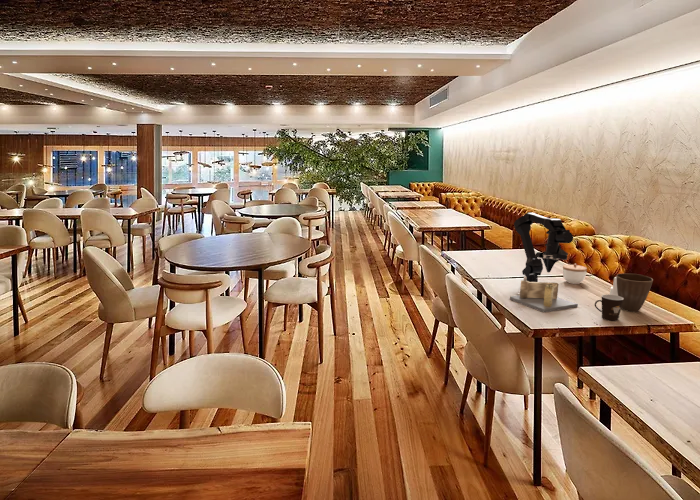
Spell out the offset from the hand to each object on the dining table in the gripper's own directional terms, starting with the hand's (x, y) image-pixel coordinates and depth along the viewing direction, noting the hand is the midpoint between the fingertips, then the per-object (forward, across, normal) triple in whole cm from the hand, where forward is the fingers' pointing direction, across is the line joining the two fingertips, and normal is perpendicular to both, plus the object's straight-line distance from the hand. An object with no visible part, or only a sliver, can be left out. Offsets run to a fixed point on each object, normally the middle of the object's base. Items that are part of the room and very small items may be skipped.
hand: (548, 272), depth 247 cm
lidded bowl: (+2, +21, -32) cm, 39 cm away
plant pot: (+12, -27, -27) cm, 40 cm away
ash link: (+14, -7, +9) cm, 18 cm away
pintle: (+6, -7, +17) cm, 20 cm away
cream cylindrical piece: (+8, -13, -34) cm, 37 cm away
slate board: (+16, -11, +8) cm, 21 cm away
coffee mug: (+18, -36, -7) cm, 40 cm away
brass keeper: (+17, -17, +9) cm, 26 cm away
